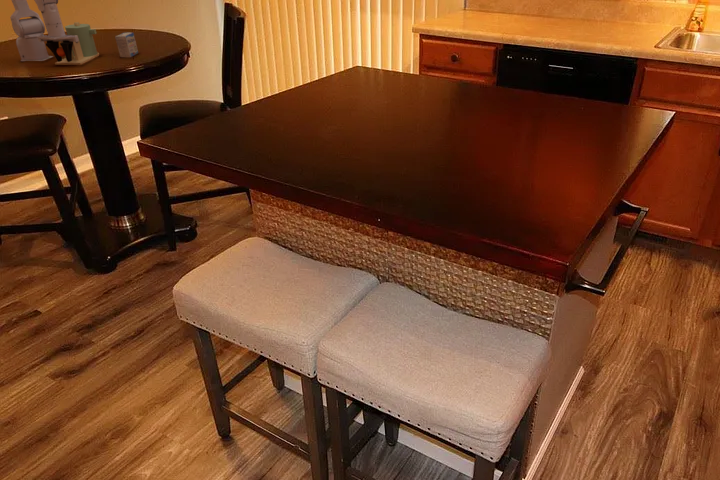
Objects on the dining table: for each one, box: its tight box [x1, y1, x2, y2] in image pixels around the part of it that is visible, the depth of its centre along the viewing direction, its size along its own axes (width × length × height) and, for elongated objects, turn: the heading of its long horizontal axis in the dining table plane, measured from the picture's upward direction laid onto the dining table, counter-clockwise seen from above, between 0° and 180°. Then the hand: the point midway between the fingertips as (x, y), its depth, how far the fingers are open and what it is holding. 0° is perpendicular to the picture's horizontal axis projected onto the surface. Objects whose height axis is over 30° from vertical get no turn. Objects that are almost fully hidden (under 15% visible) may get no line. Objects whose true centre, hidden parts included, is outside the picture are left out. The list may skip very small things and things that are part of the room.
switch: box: [57, 46, 65, 58], centre depth 221 cm, size 11×3×3 cm, turn 179°
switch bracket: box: [54, 35, 96, 66], centre depth 225 cm, size 12×10×10 cm
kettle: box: [64, 21, 100, 58], centre depth 232 cm, size 12×11×13 cm
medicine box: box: [115, 31, 139, 58], centre depth 234 cm, size 8×4×9 cm, turn 179°
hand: (64, 61), depth 220 cm, fingers closed on switch, 3 cm apart
